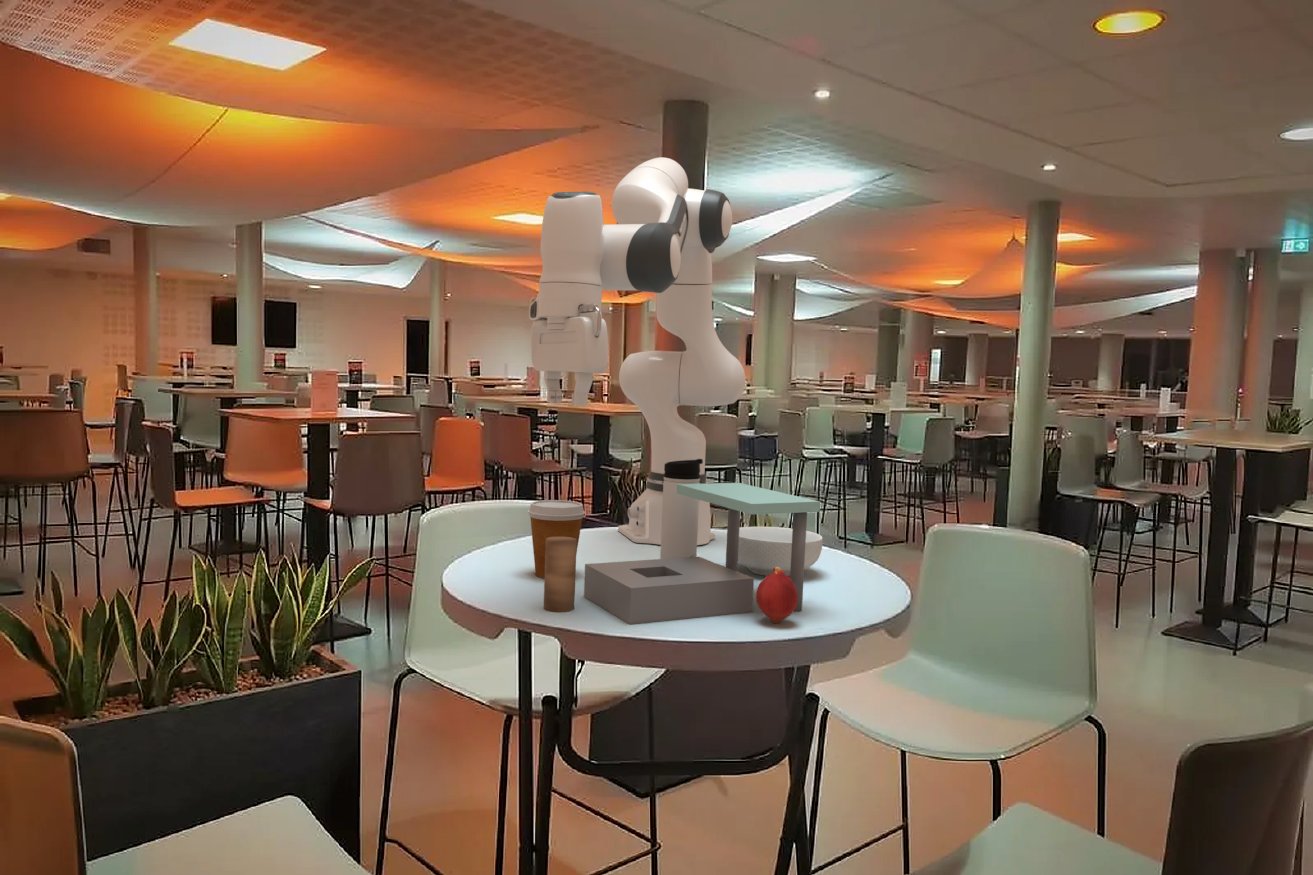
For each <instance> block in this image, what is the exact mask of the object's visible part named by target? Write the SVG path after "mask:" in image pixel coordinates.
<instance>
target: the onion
mask: <svg viewBox="0 0 1313 875" xmlns="http://www.w3.org/2000/svg"><path fill="white" fill-rule="evenodd" d="M760 581H761V582H760V583H759V584H758V585H757V589H756V593H755V599H756V605H757V606H758V609H760V611H761V612H762V613H763V614H764V615H765V616H766V617H767V618H768V619H769V620H770V621H771V622H772V623H773V624H778V623H780V622H782V621H783V620H785V619H786V618H788V617H789V616H790V615H791V614H793V612H795V611H794V610H795V608H796V606H797V602H798V593H797V589H796V586H795V584H794V583H793V581H792V580H791V579H790V576H787V575H786V574H784V572H783V571H782V570H781V569H780V568H779V567H775V568H773V573H772V574H770V575H768V576H765V577H764V578H763V579H762V580H760Z"/></svg>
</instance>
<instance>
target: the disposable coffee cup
mask: <svg viewBox="0 0 1313 875" xmlns="http://www.w3.org/2000/svg"><path fill="white" fill-rule="evenodd" d="M529 506H530V507H529V509H528V510H527V513H528V516H529V518H530V527H531V528H530V529H531V539H532V550H533V552H532V553H533V560H534V572H535V576H537V577H539V578H543V579H545V551H546V538H549V537H571V538H575V539H577V546H576V555H577V553H578V548H579V540H580V533H581V528H582V521H583V518H584V515H585V514H586V511H585V510H584V505H583V503H581V502H577V501H573V500H560V499H558V500H557V499H544V500H543V499H542V500H536V501H531V502H530V505H529Z"/></svg>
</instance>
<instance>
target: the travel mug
mask: <svg viewBox="0 0 1313 875" xmlns="http://www.w3.org/2000/svg"><path fill="white" fill-rule="evenodd" d="M702 463H703V460H702V459H697V460H682V461H672V462H667V463H665V466H664V471H665V473H664V481H663V505H662V528H661V545H660V551H659V552H660V554H659V556H660V557H659V559H670V558H685V557H697V554H698V553H697V549H698V545H697V533H698V511H699V500H698V499H695V498H691V497H688V496H684V495H681V494H677V484H700V482H699V481H700V474H699V473H700V464H702Z"/></svg>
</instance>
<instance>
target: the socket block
mask: <svg viewBox="0 0 1313 875" xmlns="http://www.w3.org/2000/svg"><path fill="white" fill-rule="evenodd" d="M754 582H755V578H754V577H752V576H749V575H746V574H745V573H742V572H739V571H738V570H737V571H734V570H732V569H729V568H727V567H726V566H724V565H721V564H720V563H716V562H714V561H711V560H708V559H705V558H704V557H701V556H696V557H685V558H670V559H660V558H659V559H657V558H655V559H643V560H642V559H641V560H628V561H627V560H626V561H612V562H611V561H609V562H595V563H594V562H593V563H584V584H583V597H584V598H586V599H588V600H589V601H591V602H592V603H595V604H596V605H597V606H599V607H600V608H602V609H604V610H605V611H607V612H609V613H610V614H612V615H614V616H616V617H617V618H618V619H620V620H622V621H623V622H625V623H626V624H628V625H635V624H644V623H645V624H647V623H655V622H664V621H666V622H667V621H674V620H675V621H676V620H683V619H694V618H695V619H696V618H703V617H713V616H722V615H723V616H725V615H736V614H743V613H745V614H746V613H752V612H753V606H754V605H753V603H754V602H753V601H754Z"/></svg>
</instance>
